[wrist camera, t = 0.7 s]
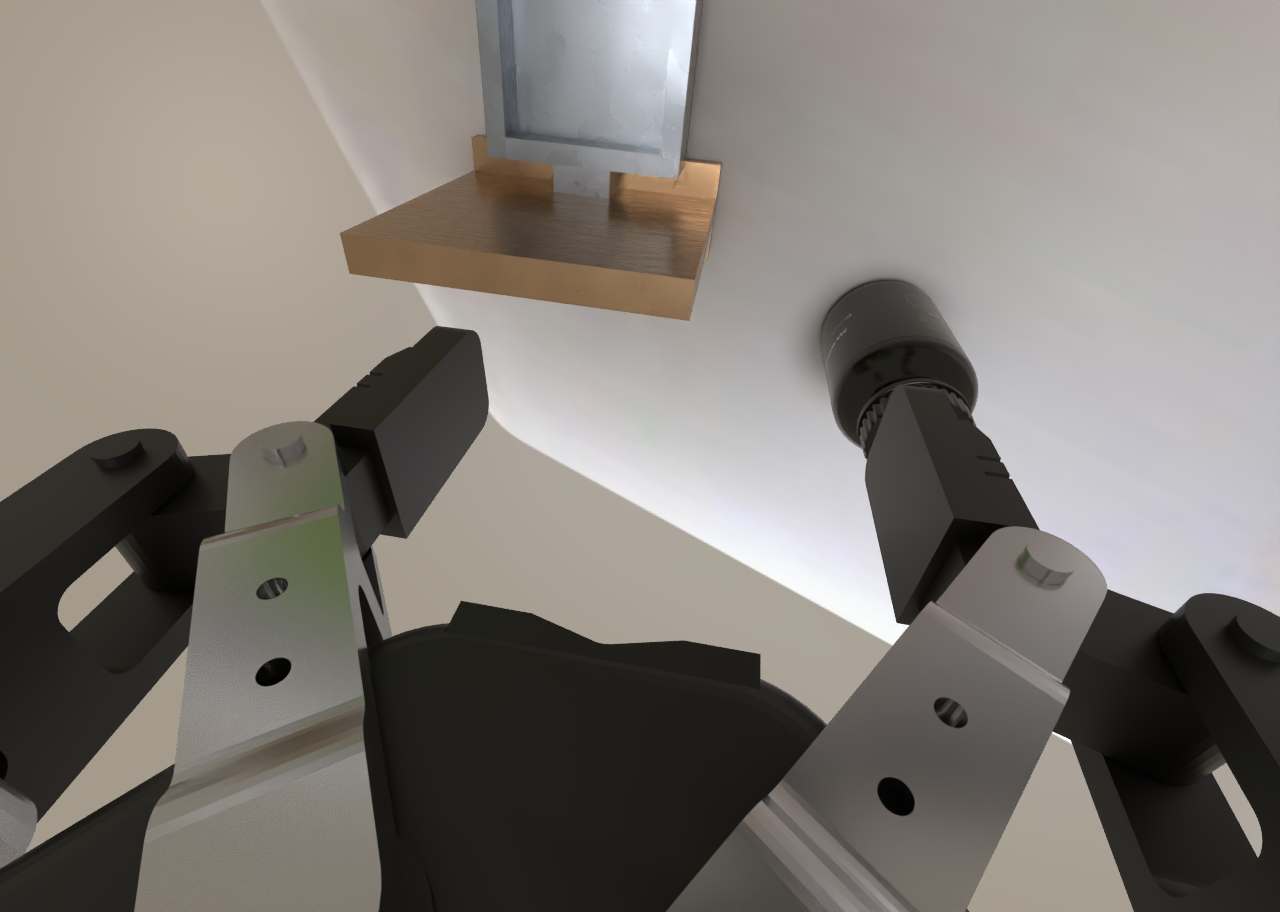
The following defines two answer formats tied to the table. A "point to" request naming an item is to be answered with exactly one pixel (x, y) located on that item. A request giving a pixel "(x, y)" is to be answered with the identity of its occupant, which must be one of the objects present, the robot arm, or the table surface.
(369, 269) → the bracket
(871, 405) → the supplement bottle
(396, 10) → the table surface
